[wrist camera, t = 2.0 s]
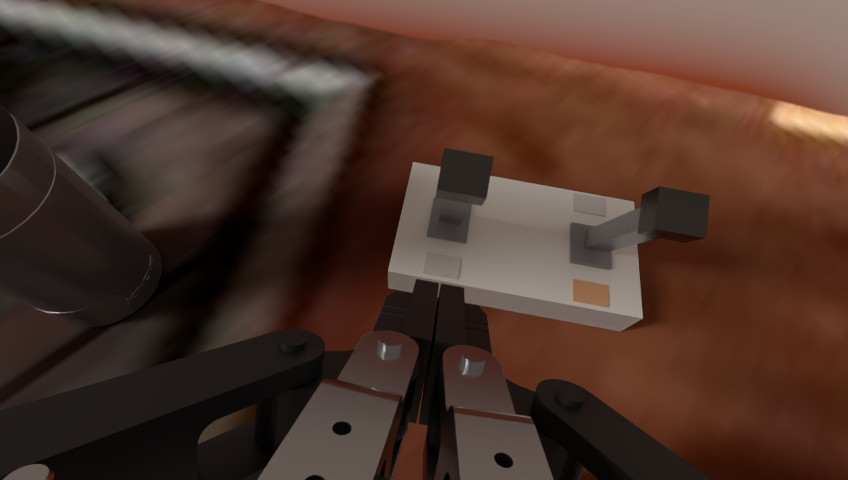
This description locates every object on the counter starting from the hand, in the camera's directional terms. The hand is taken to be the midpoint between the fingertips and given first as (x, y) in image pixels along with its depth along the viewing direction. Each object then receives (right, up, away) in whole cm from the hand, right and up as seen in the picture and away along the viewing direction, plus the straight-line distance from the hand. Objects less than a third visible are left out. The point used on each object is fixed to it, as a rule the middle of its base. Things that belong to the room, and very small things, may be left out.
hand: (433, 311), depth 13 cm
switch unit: (+8, +1, +29) cm, 31 cm away
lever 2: (+15, +2, +25) cm, 29 cm away
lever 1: (+2, +4, +25) cm, 26 cm away
